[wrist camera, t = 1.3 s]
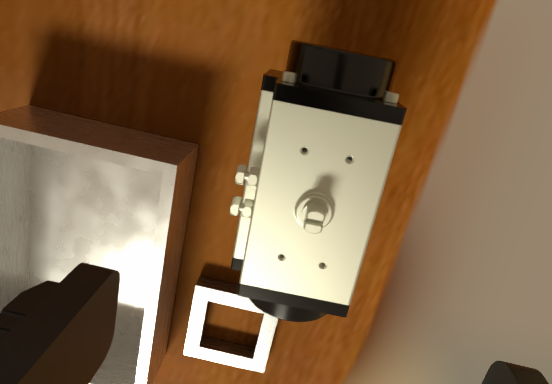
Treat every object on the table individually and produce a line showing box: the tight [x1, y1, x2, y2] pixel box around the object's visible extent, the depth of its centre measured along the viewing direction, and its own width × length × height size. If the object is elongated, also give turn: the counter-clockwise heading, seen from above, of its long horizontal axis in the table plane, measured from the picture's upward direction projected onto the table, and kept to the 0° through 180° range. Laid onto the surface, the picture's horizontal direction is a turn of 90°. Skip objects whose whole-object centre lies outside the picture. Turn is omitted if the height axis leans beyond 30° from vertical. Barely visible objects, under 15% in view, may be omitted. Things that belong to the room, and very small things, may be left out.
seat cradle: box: [0, 105, 199, 384], centre depth 28 cm, size 17×11×5 cm, turn 168°
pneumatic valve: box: [230, 40, 407, 322], centre depth 21 cm, size 6×12×12 cm, turn 170°
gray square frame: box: [183, 276, 278, 373], centre depth 31 cm, size 6×6×1 cm
